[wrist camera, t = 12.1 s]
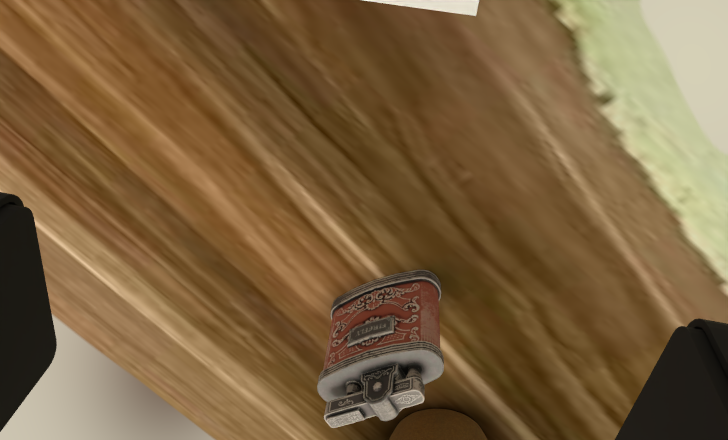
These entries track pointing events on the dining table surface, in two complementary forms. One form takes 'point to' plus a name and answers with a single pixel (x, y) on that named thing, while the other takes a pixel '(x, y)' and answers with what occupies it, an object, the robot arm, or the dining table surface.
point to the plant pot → (437, 426)
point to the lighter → (382, 348)
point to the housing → (438, 5)
